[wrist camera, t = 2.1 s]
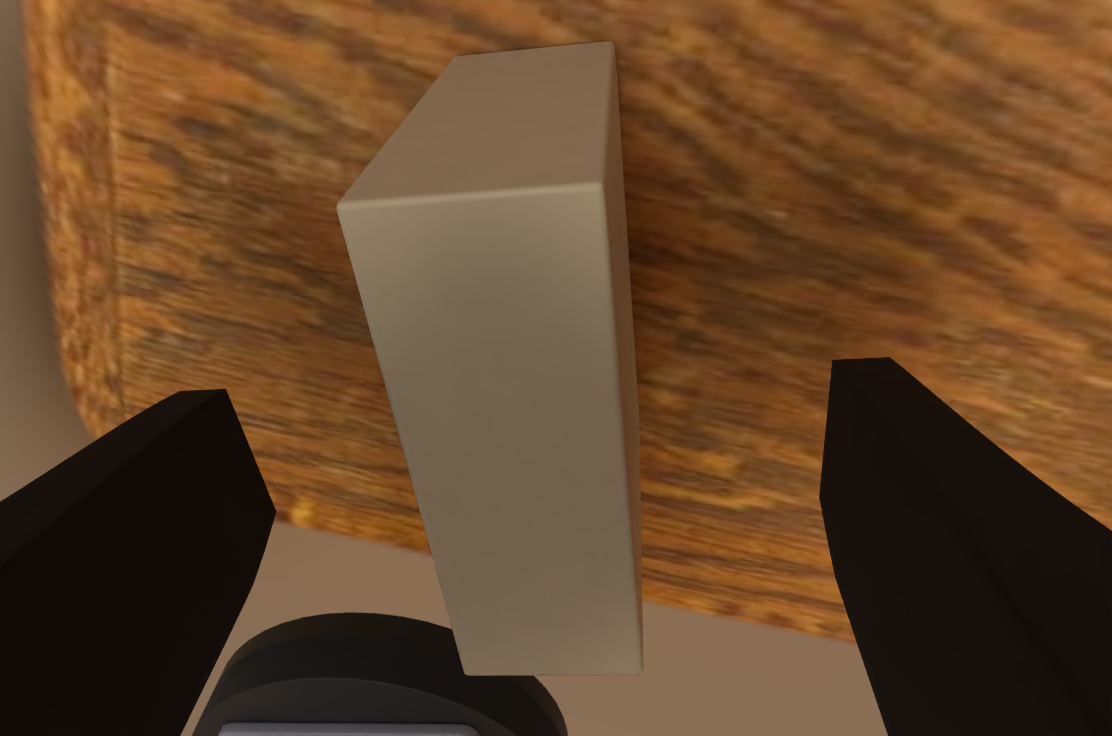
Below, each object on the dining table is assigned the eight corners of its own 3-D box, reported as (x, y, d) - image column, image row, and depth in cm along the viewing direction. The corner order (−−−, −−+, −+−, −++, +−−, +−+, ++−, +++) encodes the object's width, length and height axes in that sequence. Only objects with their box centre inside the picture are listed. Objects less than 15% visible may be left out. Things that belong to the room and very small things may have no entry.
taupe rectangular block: (639, 412, 16) (643, 677, 11) (514, 417, 16) (463, 677, 11) (614, 39, 12) (603, 183, 7) (452, 55, 12) (332, 204, 7)
